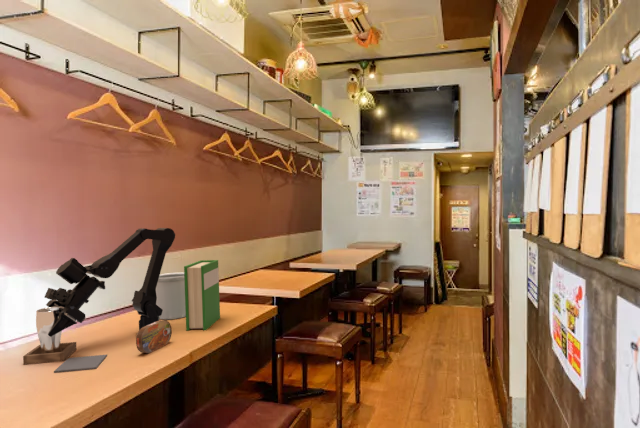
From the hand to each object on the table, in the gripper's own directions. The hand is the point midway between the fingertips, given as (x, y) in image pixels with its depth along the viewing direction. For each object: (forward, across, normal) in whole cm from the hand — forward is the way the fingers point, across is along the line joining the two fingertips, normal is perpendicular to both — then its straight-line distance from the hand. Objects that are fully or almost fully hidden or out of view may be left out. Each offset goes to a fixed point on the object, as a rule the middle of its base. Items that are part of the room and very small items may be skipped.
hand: (45, 333), depth 134 cm
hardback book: (-31, +8, +42) cm, 53 cm away
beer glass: (+4, 0, +6) cm, 8 cm away
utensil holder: (-31, -15, +42) cm, 55 cm away
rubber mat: (+2, +15, +9) cm, 18 cm away
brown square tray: (+4, 0, +6) cm, 8 cm away
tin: (-12, +20, +24) cm, 33 cm away
